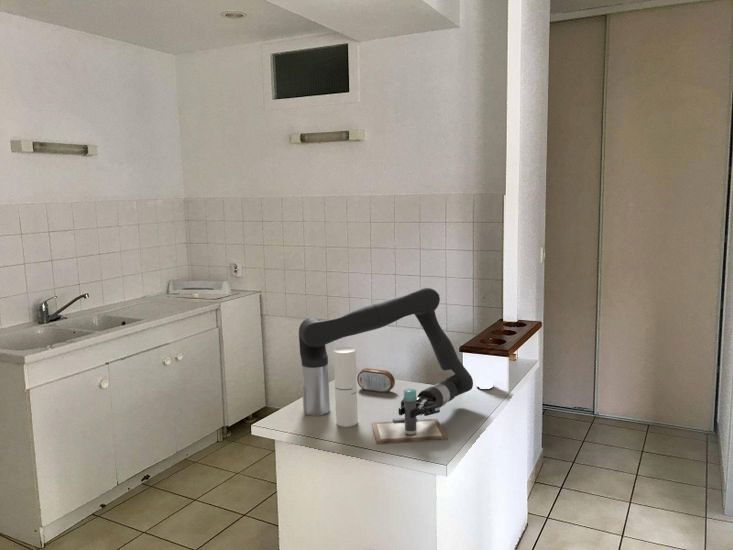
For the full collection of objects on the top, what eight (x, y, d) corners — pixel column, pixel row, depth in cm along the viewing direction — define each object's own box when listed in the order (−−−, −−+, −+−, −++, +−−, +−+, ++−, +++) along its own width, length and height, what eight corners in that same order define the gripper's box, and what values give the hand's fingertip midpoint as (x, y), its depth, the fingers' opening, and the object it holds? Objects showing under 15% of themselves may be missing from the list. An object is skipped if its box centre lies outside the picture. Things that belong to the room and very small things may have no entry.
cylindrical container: (333, 420, 205) (330, 348, 202) (352, 417, 208) (350, 346, 205) (340, 428, 199) (338, 354, 195) (360, 424, 202) (358, 351, 198)
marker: (405, 436, 188) (404, 393, 186) (404, 431, 192) (403, 389, 190) (417, 435, 188) (416, 392, 186) (415, 431, 192) (415, 388, 190)
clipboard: (376, 443, 186) (376, 438, 186) (371, 425, 201) (371, 419, 200) (447, 439, 188) (447, 433, 187) (437, 420, 202) (437, 415, 202)
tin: (395, 391, 233) (394, 370, 232) (392, 394, 230) (391, 372, 229) (359, 387, 239) (359, 366, 238) (356, 390, 236) (355, 369, 235)
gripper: (415, 383, 204) (386, 397, 190) (452, 390, 196) (424, 406, 182) (416, 404, 205) (386, 420, 192) (453, 412, 197) (425, 430, 183)
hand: (405, 413), depth 187 cm, fingers closed on marker, 3 cm apart
